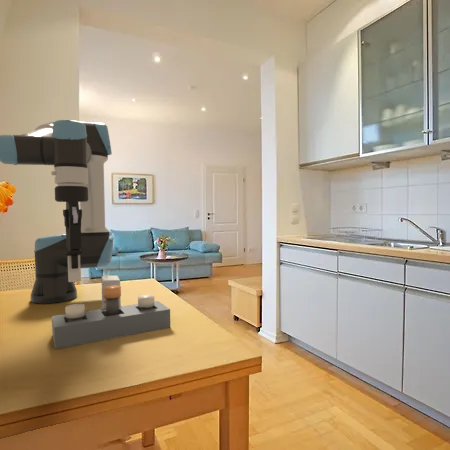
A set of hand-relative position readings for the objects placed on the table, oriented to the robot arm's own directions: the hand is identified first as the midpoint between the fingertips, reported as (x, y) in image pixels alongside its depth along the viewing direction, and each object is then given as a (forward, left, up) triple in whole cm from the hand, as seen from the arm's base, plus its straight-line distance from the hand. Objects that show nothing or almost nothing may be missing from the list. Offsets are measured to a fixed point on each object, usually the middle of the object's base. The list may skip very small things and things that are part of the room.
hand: (74, 280), depth 87 cm
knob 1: (0, 0, -14) cm, 14 cm away
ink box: (-13, +11, -15) cm, 23 cm away
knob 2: (0, +18, -14) cm, 23 cm away
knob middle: (0, +9, -10) cm, 14 cm away
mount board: (0, +9, -14) cm, 17 cm away
